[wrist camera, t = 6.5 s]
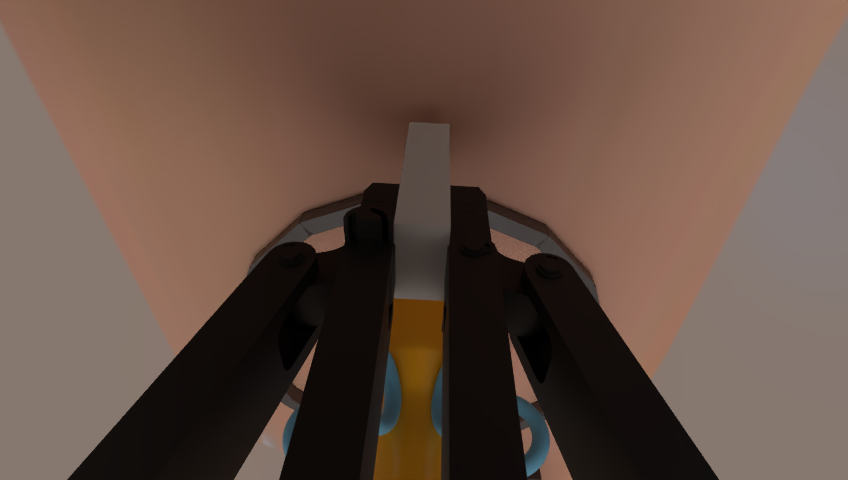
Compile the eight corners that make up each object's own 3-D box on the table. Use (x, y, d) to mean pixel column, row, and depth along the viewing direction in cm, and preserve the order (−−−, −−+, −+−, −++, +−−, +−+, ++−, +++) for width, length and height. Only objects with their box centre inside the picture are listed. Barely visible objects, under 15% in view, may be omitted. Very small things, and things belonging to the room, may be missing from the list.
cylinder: (442, 407, 31) (441, 727, 19) (297, 352, 28) (189, 687, 16) (562, 295, 25) (673, 671, 13) (390, 209, 22) (324, 590, 10)
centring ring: (190, 168, 21) (180, 180, 20) (664, 193, 21) (673, 205, 20) (268, 430, 34) (263, 444, 33) (561, 447, 34) (564, 461, 33)
